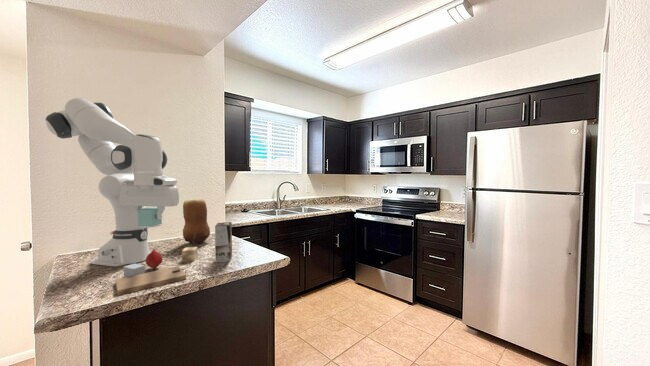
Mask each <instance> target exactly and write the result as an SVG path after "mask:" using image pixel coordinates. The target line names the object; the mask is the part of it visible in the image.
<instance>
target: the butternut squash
mask: <svg viewBox="0 0 650 366" xmlns="http://www.w3.org/2000/svg"><path fill="white" fill-rule="evenodd" d="M182 212H183V213H182V214H183V219H184V225H183V229H182V238H183V239H184V241H186V242H188V243H189V244H193V245H200V244H202V243H204V242H205V241H206V240H207V239H208V238H209V237H210V235H211V230H210V226H209V223H208V218H207V217H208V208H207V203H206V201H205V200H204V199H203V198H193V199H190V198H189V199H186V200H184V201H183V204H182Z"/></svg>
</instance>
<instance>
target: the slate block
mask: <svg viewBox="0 0 650 366" xmlns="http://www.w3.org/2000/svg"><path fill="white" fill-rule="evenodd" d="M145 266H146V265H143V264H141V263H131V264H127V265H123V278H124V277H129V276H134V275H139V274H143V273H146V270H145V269H146V267H145Z"/></svg>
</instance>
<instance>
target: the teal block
mask: <svg viewBox="0 0 650 366" xmlns="http://www.w3.org/2000/svg"><path fill="white" fill-rule="evenodd" d="M142 208H143V209H138V226H141V227H147V228H150V227H155V226H159V225H162V224H163V223H162V218H161V219H155V214H157V213H158V209H157V207H142Z"/></svg>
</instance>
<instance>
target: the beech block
mask: <svg viewBox="0 0 650 366" xmlns="http://www.w3.org/2000/svg"><path fill="white" fill-rule="evenodd" d="M198 251H199V250H198V246H189V247H184V248H183V249H182V250H181V257H182V258H181V260H182V262H183V263H184V262H195V261H196V260H197V259H198V256H199V255H198Z"/></svg>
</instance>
